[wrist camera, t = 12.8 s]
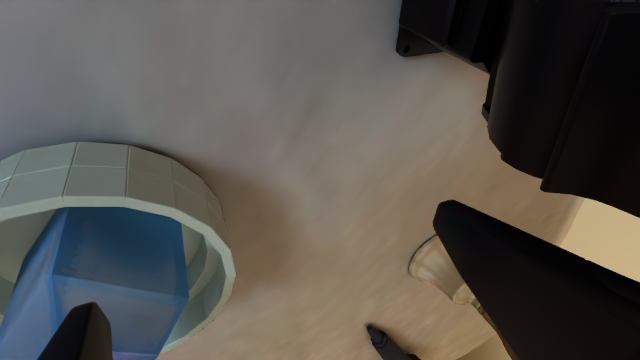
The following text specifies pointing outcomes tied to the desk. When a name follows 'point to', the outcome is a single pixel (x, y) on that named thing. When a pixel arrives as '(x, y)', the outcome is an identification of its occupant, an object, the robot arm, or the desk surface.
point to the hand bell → (447, 279)
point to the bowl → (117, 191)
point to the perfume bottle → (100, 280)
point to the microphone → (388, 346)
